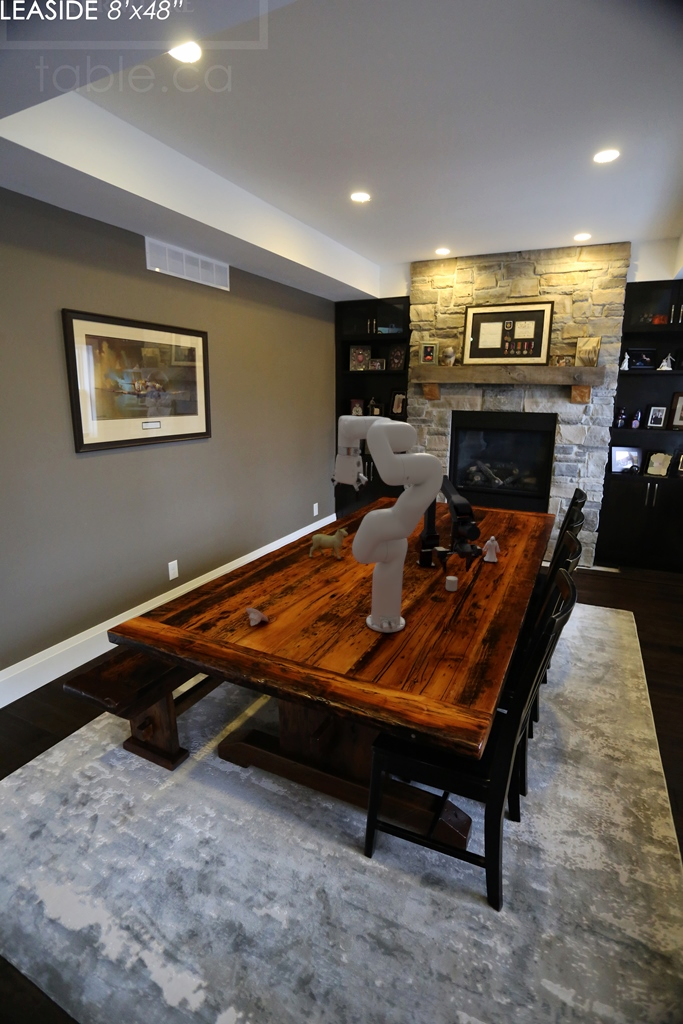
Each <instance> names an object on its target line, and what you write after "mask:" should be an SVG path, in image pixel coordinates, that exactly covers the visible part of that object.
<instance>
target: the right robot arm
mask: <svg viewBox="0 0 683 1024" xmlns="http://www.w3.org/2000/svg"><path fill="white" fill-rule="evenodd" d="M449 478H450V477H449V475H448V474H447V473H443V481H442V486H441V489H440V491H439V493H440V492H441V494H442V495H443V496H444V498H445V499H446V502H447V503H448V506H447V509H448V511H449V514H450V517H449V521H451V529H450V534H449V535H448V536H449V537H448V538H449V539H450V544H448V549H447V548H444V547H443V546H440V545H441V542H440V539H441V536H440V534H439V533H438V532H437V530H436V522H437V521H436V519H437V497H438V495H437V496H436V498H435V499H434V500H433V502H432V503H431V504H430V505H429V507H428V508H427V510H426V511H425V513H424V515H423V529H422V531H421V532H420V533H419V538H418V540H417V542H416V543H415V544H414V549H415V551H416V552H417V553H418V554H419V557H418V560H416V561H415V563H416V564H418V566H419V567H421V568H426V567H436V564H435V563H434V562H433V557H435V558H437V559H438V561H439V563H440V566H441V569H442V572H443V573H444V575H445V574H447V571H448V569H447V568H448V567H447V562H448V560H449V558H448V555H458V558H459V559H465V572H466V573H469V571H470V569H471V567H472V564H473V563H474V561H475V560H477V559H479V558H480V557H483V555H484V551H483V548H482V547H480V546H478V544H477V543H472V544H471V543H470V544H469V541H470V542H475V541H477V540H479V538H480V537H481V533H482V531H481V528H480V527H479V526H478V525H477V524H478V523H477V522H476V518H475V517H476V515H475V513H474V510H473V508H472V507H473V506H472V504H471V503H470V501H469V500H467V498H465V497H463V496H461V495H460V494H459V492H458V491H457V489H456V488H455V487H454V485H453V484H452V482H451V481H450V479H449Z"/></svg>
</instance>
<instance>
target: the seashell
mask: <svg viewBox="0 0 683 1024" xmlns="http://www.w3.org/2000/svg"><path fill="white" fill-rule="evenodd" d="M245 611H246V614H248V615H249V616H248V619H249V625H250V626H251V627H253V626H256V625H258V624H259V623H260V622H261V621H265V622H269V618H268V616H267V615H266V614H264V613H263V612H261V611H260V610H259V609H256V608H253V607H245Z"/></svg>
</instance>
